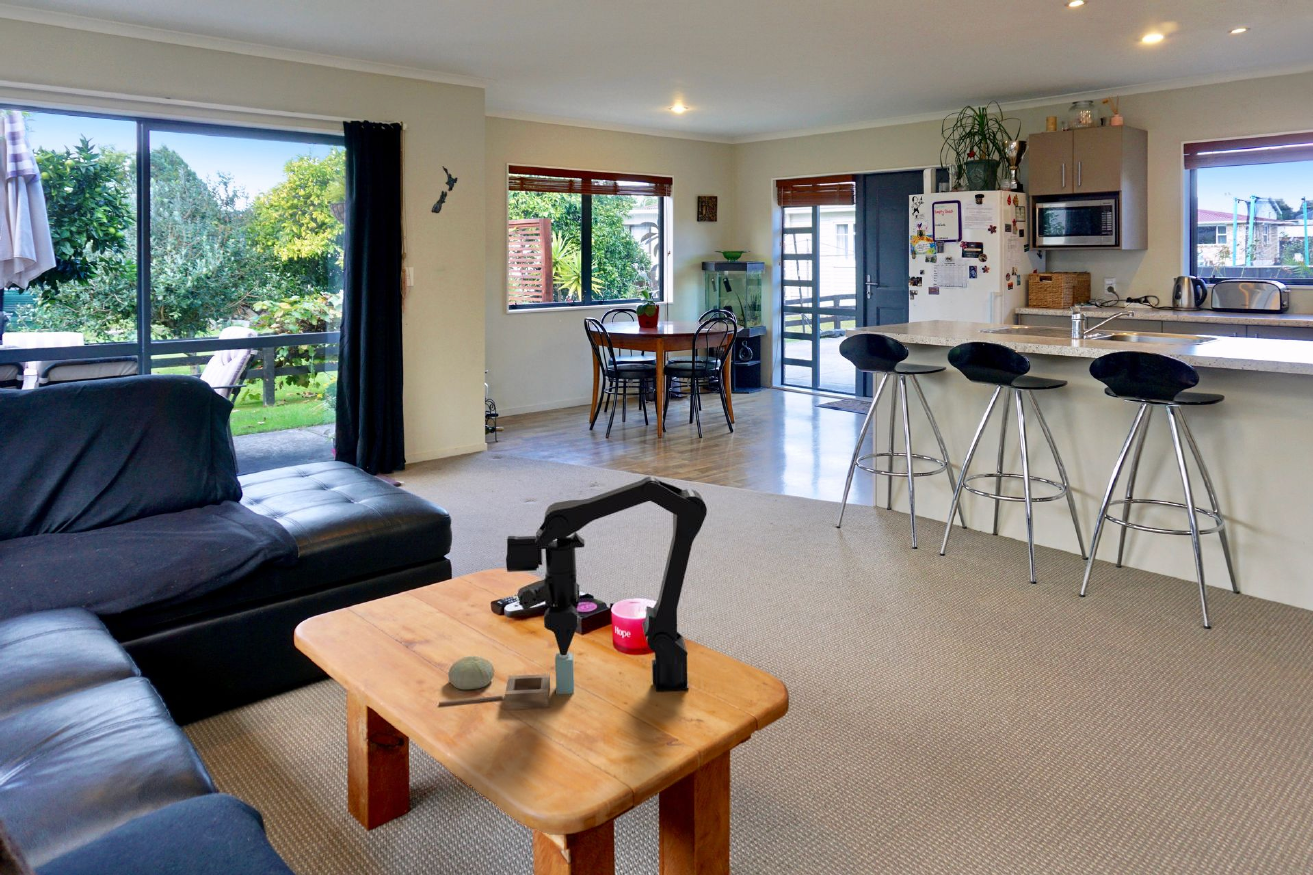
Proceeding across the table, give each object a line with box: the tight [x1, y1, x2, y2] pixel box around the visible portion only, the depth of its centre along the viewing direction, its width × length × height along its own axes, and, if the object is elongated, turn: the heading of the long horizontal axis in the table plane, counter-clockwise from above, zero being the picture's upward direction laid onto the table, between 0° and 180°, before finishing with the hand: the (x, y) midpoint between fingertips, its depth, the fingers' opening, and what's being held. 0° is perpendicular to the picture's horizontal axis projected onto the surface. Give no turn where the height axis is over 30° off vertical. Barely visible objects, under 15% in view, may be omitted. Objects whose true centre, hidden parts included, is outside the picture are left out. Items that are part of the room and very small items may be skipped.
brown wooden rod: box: [438, 695, 504, 707], centre depth 181 cm, size 12×1×1 cm, turn 101°
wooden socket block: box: [504, 673, 551, 711], centre depth 181 cm, size 8×8×3 cm
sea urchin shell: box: [447, 655, 495, 691], centre depth 189 cm, size 9×8×8 cm
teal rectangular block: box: [554, 651, 575, 695], centre depth 184 cm, size 3×3×8 cm
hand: (564, 645), depth 184 cm, fingers open, 9 cm apart
